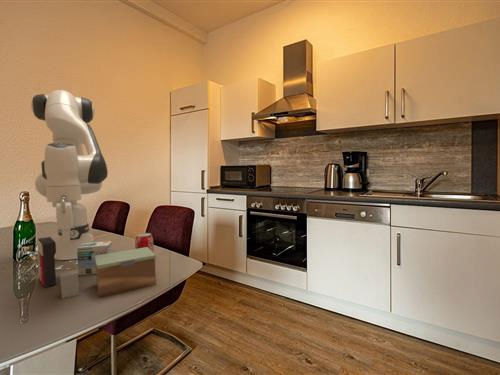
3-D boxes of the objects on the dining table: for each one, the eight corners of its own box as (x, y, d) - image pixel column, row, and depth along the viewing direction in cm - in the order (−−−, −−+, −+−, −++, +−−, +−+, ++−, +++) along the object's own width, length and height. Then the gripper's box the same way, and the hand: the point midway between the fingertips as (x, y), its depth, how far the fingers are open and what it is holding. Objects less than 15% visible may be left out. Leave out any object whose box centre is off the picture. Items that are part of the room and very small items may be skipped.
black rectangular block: (38, 279, 98) (35, 238, 97) (52, 275, 101) (50, 236, 100) (43, 288, 91) (39, 244, 89) (58, 284, 94) (55, 241, 92)
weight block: (62, 293, 87) (61, 272, 86) (79, 289, 89) (77, 269, 89) (61, 298, 83) (60, 276, 83) (79, 294, 86) (77, 273, 85)
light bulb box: (77, 275, 101) (76, 247, 100) (83, 269, 107) (82, 242, 107) (109, 272, 104) (107, 245, 103) (113, 266, 110) (111, 240, 110)
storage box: (96, 283, 94) (95, 258, 93) (148, 272, 103) (147, 249, 102) (99, 297, 83) (97, 268, 83) (155, 283, 93) (154, 258, 92)
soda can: (147, 265, 110) (146, 236, 109) (132, 264, 112) (131, 236, 111) (157, 260, 117) (156, 232, 116) (142, 259, 119) (141, 232, 118)
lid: (94, 260, 93) (94, 255, 93) (147, 251, 102) (147, 246, 102) (97, 271, 82) (96, 266, 82) (156, 260, 91) (156, 255, 91)
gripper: (76, 196, 77) (79, 244, 78) (76, 192, 94) (79, 231, 95) (48, 198, 73) (52, 248, 74) (54, 194, 91) (57, 234, 92)
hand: (67, 239), depth 85 cm, fingers open, 8 cm apart
